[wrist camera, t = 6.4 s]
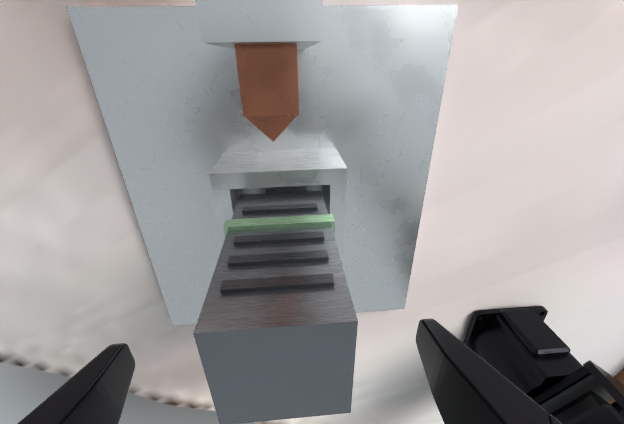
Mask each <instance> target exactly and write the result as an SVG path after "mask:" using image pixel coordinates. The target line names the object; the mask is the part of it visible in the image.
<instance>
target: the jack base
mask: <svg viewBox="0 0 624 424" xmlns="http://www.w3.org/2000/svg"><path fill="white" fill-rule="evenodd" d="M195 4H196V6H149V7H67V10H68V13H69V16H70V19H71V22H72V25H73V28H74V31H75V34H76V37H77V40H78V43H79V46H80V49H81V52H82V55H83V58H84V61H85V64H86V67H87V70H88V73H89V76H90V79H91V82H92V85H93V88H94V91H95V95H96V98H97V101H98V104H99V107H100V110H101V113H102V116H103V119H104V122H105V125H106V128H107V131H108V134H109V137H110V140H111V143H112V146H113V149H114V152H115V155H116V158H117V161H118V164H119V167H120V170H121V173H122V176H123V179H124V182H125V185H126V188H127V191H128V194H129V197H130V200H131V203H132V206H133V209H134V212H135V215H136V218H137V221H138V224H139V227H140V230H141V233H142V236H143V239H144V242H145V245H146V248H147V251H148V254H149V257H150V260H151V263H152V266H153V269H154V272H155V275H156V278H157V281H158V284H159V287H160V290H161V293H162V296H163V299H164V302H165V305H166V308H167V311H168V314H169V317H170V320H171V323H172V326H180V325H194V324H197V321H198V318H199V315H200V312H201V309H202V306H203V303H204V300H205V297H206V294H207V291H208V288H209V285H210V282H211V279H212V276H213V273H214V270H215V267H216V264H217V261H218V258H219V255H220V252H221V249H222V246H223V243H224V240H225V235H224V229H223V226H224V224H225V221H226V220H230V219H232V216H233V213H234V210H235V207H236V204H237V201H238V198H239V195H240V194H260V193H281V192H302V191H322V194H323V198H324V201H325V205H326V209H327V212H328V214H333V217H334V220H335V241H336V245H337V248H338V252H339V255H340V259H341V263H342V266H343V270H344V273H345V277H346V281H347V284H348V288H349V291H350V295H351V299H352V302H353V306H354V309H355V312H368V311H381V310H395V309H404V308H405V302H406V297H407V291H408V285H409V280H410V274H411V268H412V263H413V257H414V252H415V246H416V240H417V235H418V229H419V223H420V218H421V212H422V206H423V201H424V195H425V189H426V184H427V178H428V172H429V167H430V161H431V155H432V150H433V144H434V138H435V133H436V127H437V122H438V116H439V110H440V105H441V99H442V93H443V88H444V82H445V76H446V71H447V65H448V59H449V54H450V48H451V42H452V37H453V31H454V25H455V20H456V14H457V8H458V5H323V6H322V0H195Z"/></svg>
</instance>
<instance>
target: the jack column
mask: <svg viewBox="0 0 624 424" xmlns="http://www.w3.org/2000/svg"><path fill="white" fill-rule="evenodd" d="M223 229H224V235H225V240H224V243H223V246H222V249H221V252H220V255H219V258H218V261H217V264H216V267H215V270H214V273H213V276H212V279H211V282H210V285H209V288H208V291H207V294H206V297H205V300H204V303H203V306H202V309H201V312H200V315H199V318H198V321H197V324H196V327H195V330H194V333H193V334H194V337H195V341H196V344H197V347H198V351H199V354H200V358H201V361H202V365H203V368H204V372H205V375H206V378H207V382H208V385H209V389H210V392H211V396H212V399H213V402H214V406H215V409H216V413H217V416H218V420H219V423H220V424H238V423H248V422H259V421H269V420H279V419H290V418H300V417H310V416H321V415H331V414H341V413H350V412H351V400H352V387H353V374H354V362H355V349H356V336H357V324H358V320H357V317H356V313H355V309H354V306H353V302H352V299H351V295H350V291H349V288H348V284H347V281H346V277H345V273H344V270H343V266H342V263H341V259H340V255H339V252H338V248H337V245H336V241H335V220H334V217H333V214H328V212H327V209H326V205H325V201H324V198H323V194H322V191H302V192H281V193H260V194H240V195H239V198H238V201H237V204H236V207H235V210H234V213H233V216H232V219H230V220H226V221H225V224H224V226H223Z"/></svg>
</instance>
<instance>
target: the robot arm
mask: <svg viewBox="0 0 624 424" xmlns="http://www.w3.org/2000/svg"><path fill="white" fill-rule="evenodd" d="M547 312H548V311H547V310H546V309H545V308H544V307H543V306H534V307H521V308H507V309H494V310H481V311H477V312H475V313H474V315H473V318H472V321H471V324H470V327H469V330H468V333H467V336H466V339H465V342H464V343H462V342H461V341H460V340H459V339H458V338H456V337H455V336H454V335H453V334H451V333H450V332H449V331H448V330H446V329H445V328H444V327H443V326H442V325H440V324H439V323H438V322H437V321H435V320H434V319H422V320H420V321H419V325H418V330H417V334H416V344H417V347H418V350H419V354H420V357H421V360H422V363H423V366H424V370H425V373H426V376H427V379H428V382H429V386H430V389H431V392H432V394H433V397H434V400H435V402H436V404H437V407H438V409H439V411H440V414H441V416H442V419H443V421H444V423H445V424H624V385H623V384H621V383H620V382H619V381H618V380H617V379H615V378H614V377H613V376H611V375H610V374H608V373H607V372H606V371H604V370H603V369H601V368H600V367H599V366H597V365H596V364H594V363H593V362H592V361H590V360H589V361H588V362H586V363H584V364H583V365H584V366H582V365H581V364H580V363H579V362H578V361H577V360H576V359H575V358H574V357H573V356H572V355H571V354H570V348H569V347H568V346H567V345H566V344H565V343H564V342H563V341H562V340H561V339H560V338H559V337H558V336H557V335H556V334H555V333H554V332H553V331H552V330H551V329H550V328H549V327H548V326H547V325H546V324H545V323H544V322H543V321H544V319H545V317H546V315H547ZM134 369H135V360H134V358H133V356H132V354H131V351H130V349H129V347H128V345H127V344H125V343H122V344H112V345H110V346H108V347H107V348H106V349H105V350H103V351H102V352H101V353H100V354H99V355H98V356H96V357H95V358H94V359H93V360H92V361H91V362H89V363H88V364H87V365H86V366H85V367H84V368H82V369H81V370H80V371H79V372H78V373H77V374H75V375H74V376H73V377H72V378H71V379H69V380H68V381H67V382H66V383H65V384H64V385H62V386H61V387H60V388H59V389H58V390H57V391H55V392H54V393H53V394H52V395H51V396H50V397H48V398H47V399H46V400H45V401H44V402H43V403H42V404H40V405H39V406H38V407H37V408H35V409H34V410H33V411H32V412H31V413H30V414H29V415H27V416H26V417H25V418H24V419H23V420H21V421H20V422H19V423H18V424H118V423H119V419H120V417H121V413H122V410H123V406H124V403H125V399H126V396H127V393H128V389H129V386H130V383H131V379H132V376H133V372H134ZM611 399H614V400H615V401H616V402H614V403H612V404H609V403H608V402H607V401H609V400H611Z"/></svg>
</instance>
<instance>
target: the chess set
mask: <svg viewBox="0 0 624 424" xmlns="http://www.w3.org/2000/svg"><path fill="white" fill-rule="evenodd" d="M614 378H615V379H617V380H618V381H619V382H620V383H621V384H623V385H624V369H623V370H622V371H620V372H619V373H618V374H617V375H616V376H615V377H614ZM607 402H608V403H609V404H612V403H614V402H616V401H615V400H614V399H611V400H609V401H607Z"/></svg>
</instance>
